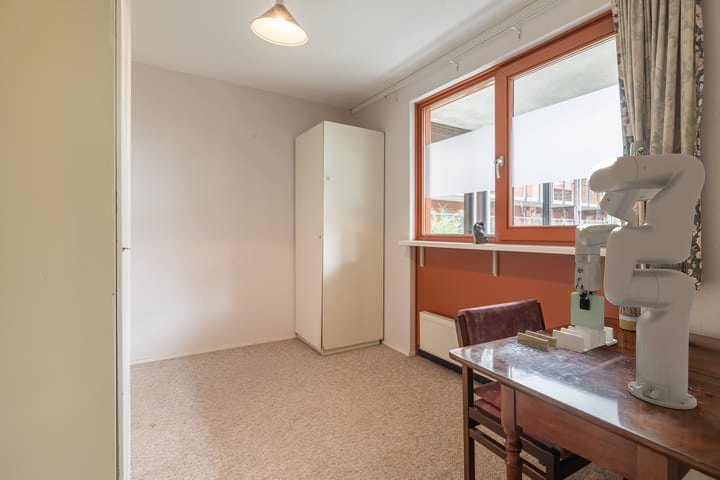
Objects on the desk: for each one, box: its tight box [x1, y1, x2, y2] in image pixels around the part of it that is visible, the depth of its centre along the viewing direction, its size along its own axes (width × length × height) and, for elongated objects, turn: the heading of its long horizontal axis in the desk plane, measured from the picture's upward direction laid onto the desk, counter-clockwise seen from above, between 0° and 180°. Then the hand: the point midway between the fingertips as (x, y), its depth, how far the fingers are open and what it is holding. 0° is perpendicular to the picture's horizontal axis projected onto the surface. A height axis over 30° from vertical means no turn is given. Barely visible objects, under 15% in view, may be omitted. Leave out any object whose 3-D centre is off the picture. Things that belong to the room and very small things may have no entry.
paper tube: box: [619, 306, 642, 332], centre depth 138 cm, size 7×7×25 cm
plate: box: [570, 291, 605, 331], centre depth 121 cm, size 2×10×12 cm, turn 30°
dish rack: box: [552, 325, 618, 354], centre depth 120 cm, size 25×11×6 cm, turn 120°
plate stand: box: [516, 330, 560, 352], centre depth 118 cm, size 7×12×4 cm, turn 30°
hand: (587, 308), depth 121 cm, fingers closed on plate, 2 cm apart
